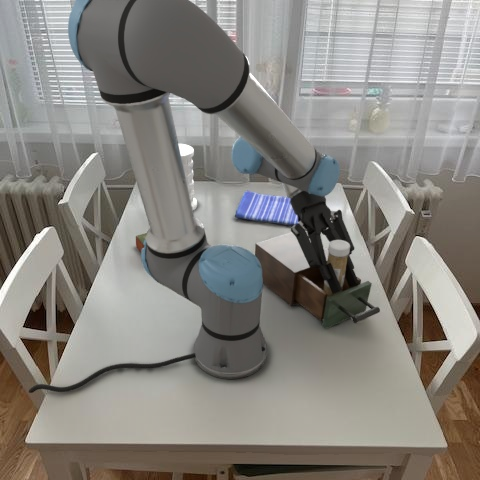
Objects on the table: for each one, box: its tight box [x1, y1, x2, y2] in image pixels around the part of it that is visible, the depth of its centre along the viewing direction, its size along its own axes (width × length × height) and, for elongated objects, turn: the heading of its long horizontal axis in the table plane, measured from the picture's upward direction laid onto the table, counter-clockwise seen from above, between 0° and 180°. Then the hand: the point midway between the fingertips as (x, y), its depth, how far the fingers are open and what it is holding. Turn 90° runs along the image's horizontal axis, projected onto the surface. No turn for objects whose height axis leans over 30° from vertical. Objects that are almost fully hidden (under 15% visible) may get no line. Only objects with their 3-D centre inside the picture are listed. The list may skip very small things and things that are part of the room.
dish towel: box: [234, 190, 298, 226], centre depth 155 cm, size 17×24×3 cm
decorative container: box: [178, 143, 198, 211], centre depth 152 cm, size 12×12×18 cm
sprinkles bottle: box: [323, 240, 350, 298], centre depth 110 cm, size 5×5×14 cm
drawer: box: [294, 264, 381, 329], centre depth 112 cm, size 20×12×8 cm, turn 34°
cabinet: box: [254, 231, 329, 307], centre depth 122 cm, size 16×14×10 cm
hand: (345, 288), depth 109 cm, fingers closed on sprinkles bottle, 4 cm apart
